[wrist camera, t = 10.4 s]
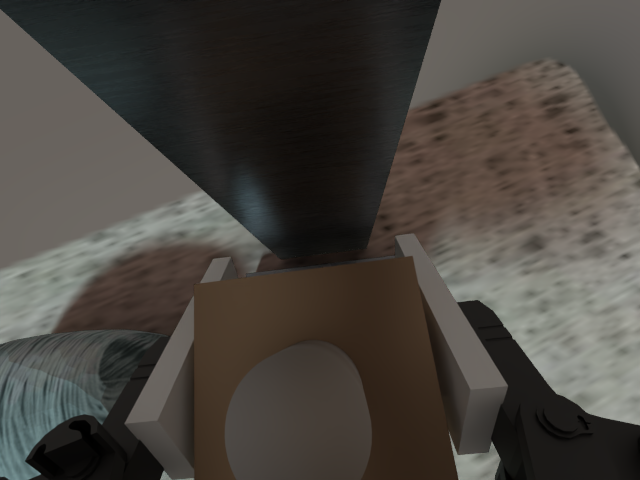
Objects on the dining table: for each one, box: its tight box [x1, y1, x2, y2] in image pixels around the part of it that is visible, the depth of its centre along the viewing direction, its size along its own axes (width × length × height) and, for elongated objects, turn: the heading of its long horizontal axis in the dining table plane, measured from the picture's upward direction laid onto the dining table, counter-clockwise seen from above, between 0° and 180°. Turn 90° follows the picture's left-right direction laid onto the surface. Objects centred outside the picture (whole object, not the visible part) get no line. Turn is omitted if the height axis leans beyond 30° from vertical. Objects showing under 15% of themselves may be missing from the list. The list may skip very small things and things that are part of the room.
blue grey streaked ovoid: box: [0, 330, 167, 480], centre depth 15 cm, size 14×10×10 cm
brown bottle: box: [194, 256, 458, 480], centre depth 11 cm, size 6×6×12 cm
